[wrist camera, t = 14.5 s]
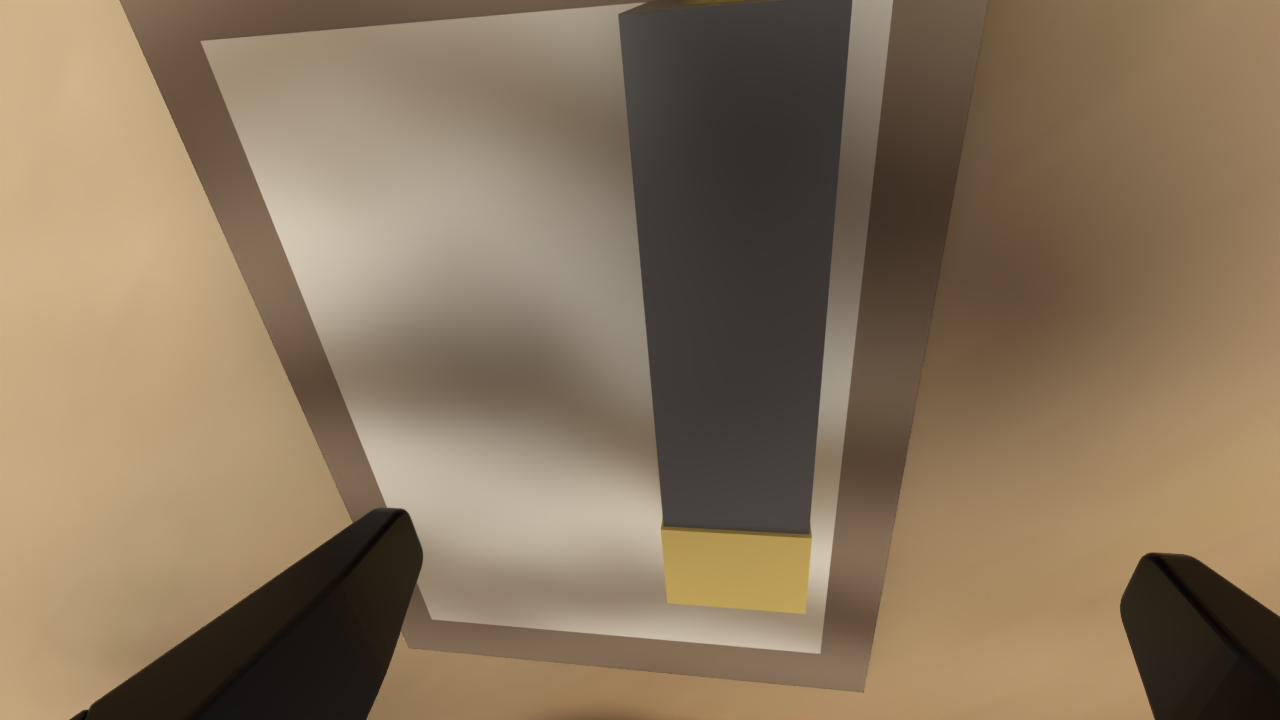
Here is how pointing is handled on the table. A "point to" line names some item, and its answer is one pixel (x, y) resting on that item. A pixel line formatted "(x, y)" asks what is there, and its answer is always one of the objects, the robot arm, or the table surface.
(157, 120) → the table surface
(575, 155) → the writing board
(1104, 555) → the table surface
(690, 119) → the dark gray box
